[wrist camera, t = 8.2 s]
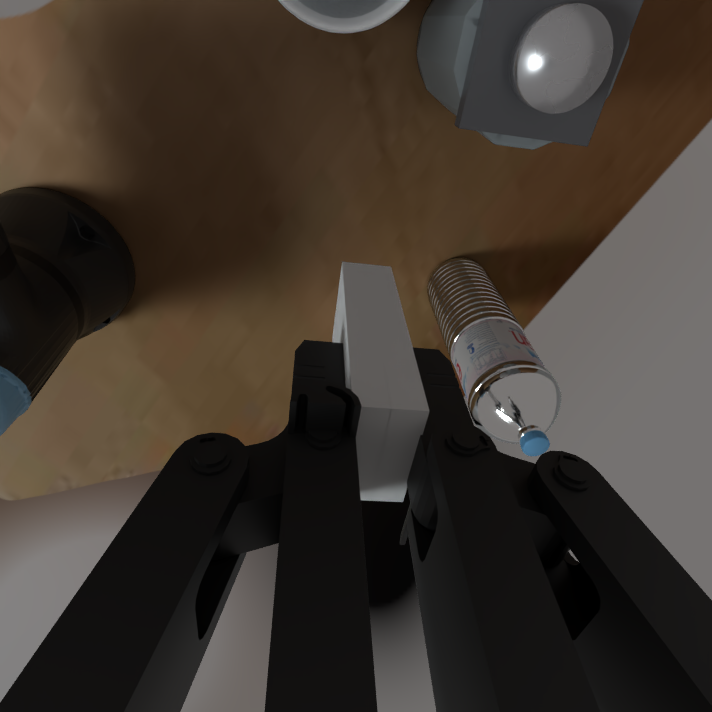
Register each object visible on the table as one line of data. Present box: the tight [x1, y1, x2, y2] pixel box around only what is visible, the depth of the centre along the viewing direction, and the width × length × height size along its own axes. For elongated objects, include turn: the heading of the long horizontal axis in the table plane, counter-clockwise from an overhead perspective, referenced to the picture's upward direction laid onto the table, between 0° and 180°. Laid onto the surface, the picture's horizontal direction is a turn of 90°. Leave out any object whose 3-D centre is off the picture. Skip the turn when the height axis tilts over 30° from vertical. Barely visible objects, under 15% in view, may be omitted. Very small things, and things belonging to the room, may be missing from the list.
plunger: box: [509, 3, 613, 114], centre depth 32 cm, size 6×6×16 cm
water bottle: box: [427, 258, 561, 456], centre depth 43 cm, size 7×7×25 cm
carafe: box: [417, 0, 643, 150], centre depth 33 cm, size 10×12×16 cm
